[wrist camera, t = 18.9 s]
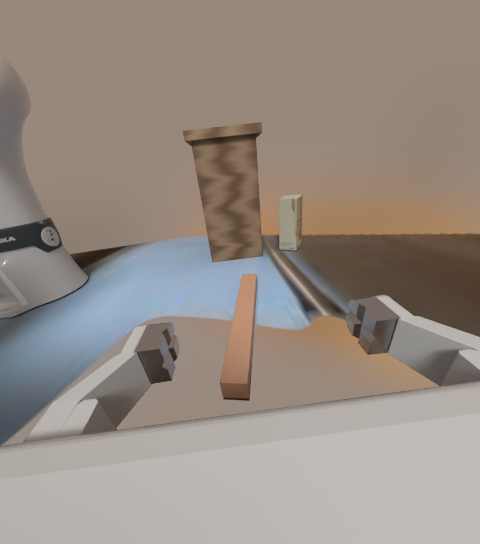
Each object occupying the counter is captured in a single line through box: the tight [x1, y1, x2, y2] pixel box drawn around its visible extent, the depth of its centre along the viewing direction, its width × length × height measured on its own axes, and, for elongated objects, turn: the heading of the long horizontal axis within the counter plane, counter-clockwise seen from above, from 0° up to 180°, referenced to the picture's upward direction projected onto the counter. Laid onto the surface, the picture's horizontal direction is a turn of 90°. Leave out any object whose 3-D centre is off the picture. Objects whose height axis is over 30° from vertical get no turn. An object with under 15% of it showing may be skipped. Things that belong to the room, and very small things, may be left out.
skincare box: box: [279, 195, 303, 251], centre depth 50 cm, size 6×4×12 cm
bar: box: [220, 274, 257, 401], centre depth 28 cm, size 2×21×2 cm, turn 174°
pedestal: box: [183, 123, 263, 262], centre depth 48 cm, size 14×12×26 cm
